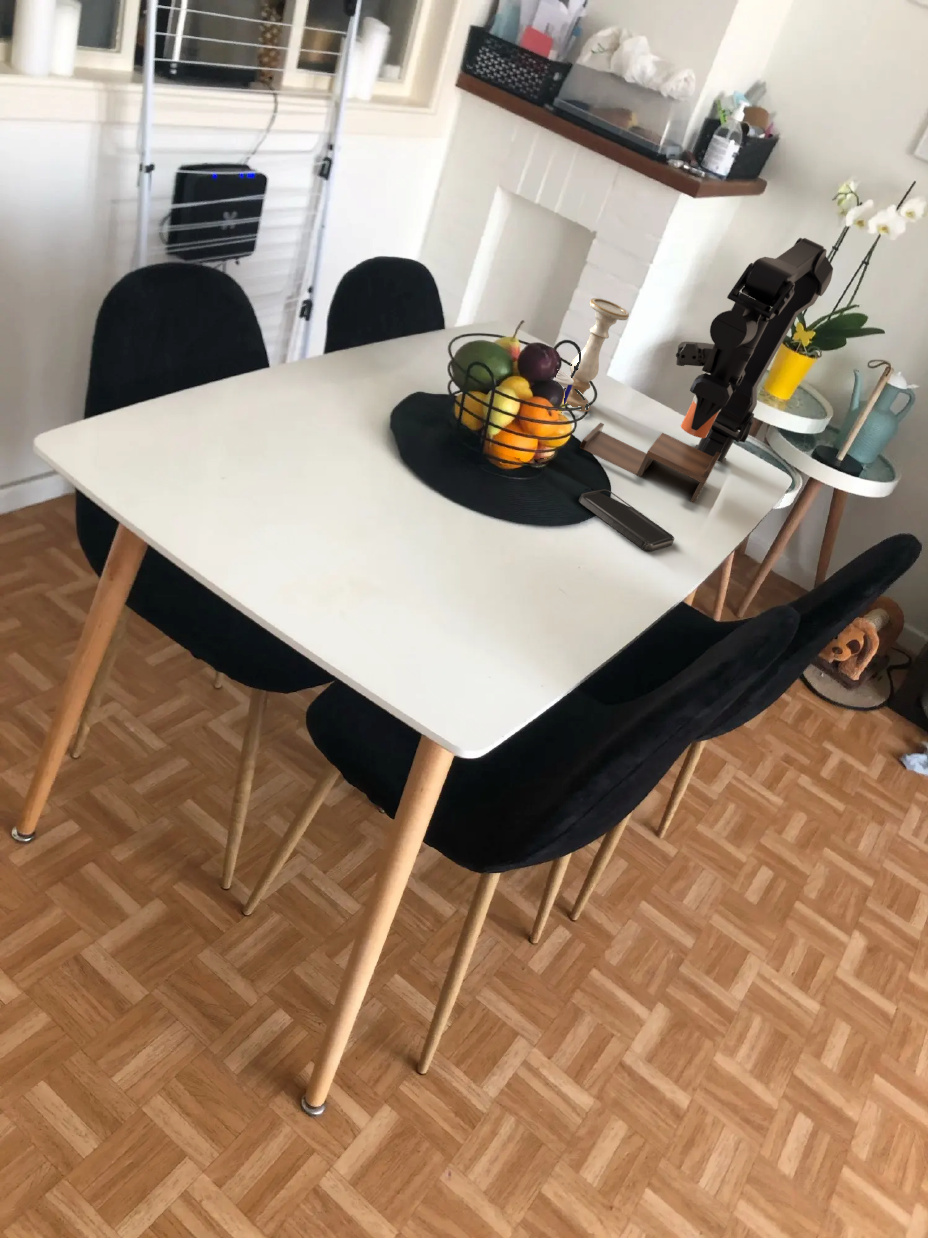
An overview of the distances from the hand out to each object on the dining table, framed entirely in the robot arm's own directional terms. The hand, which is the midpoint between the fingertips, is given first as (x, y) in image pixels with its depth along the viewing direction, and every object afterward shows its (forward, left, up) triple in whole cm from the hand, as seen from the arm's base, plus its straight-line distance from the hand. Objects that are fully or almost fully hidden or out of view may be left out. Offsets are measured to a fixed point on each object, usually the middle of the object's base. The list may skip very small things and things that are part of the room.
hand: (696, 425), depth 172 cm
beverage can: (+18, -22, -12) cm, 31 cm away
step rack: (0, -5, -12) cm, 13 cm away
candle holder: (-14, -24, -12) cm, 30 cm away
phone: (+24, -2, -12) cm, 27 cm away
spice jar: (0, 0, -1) cm, 1 cm away
